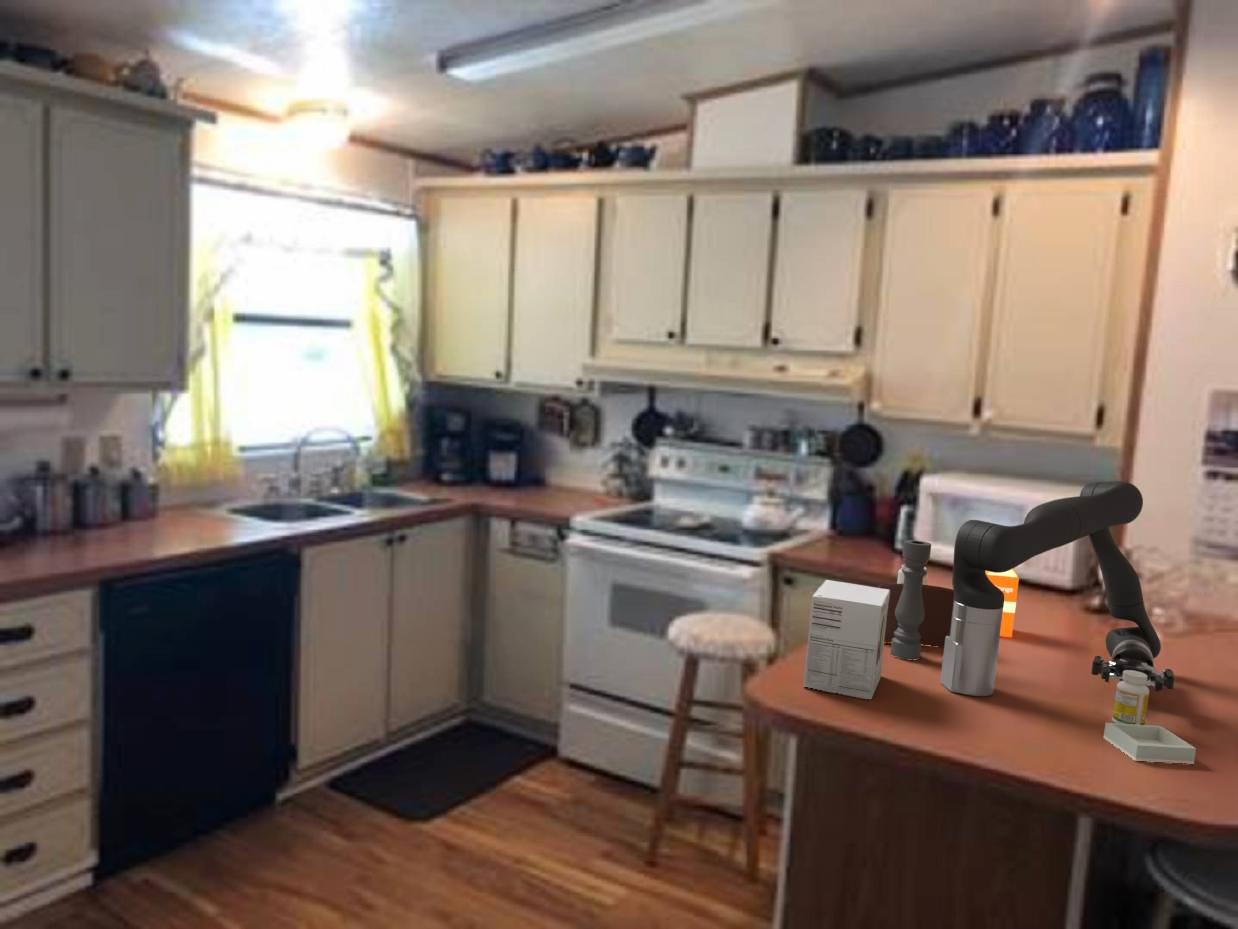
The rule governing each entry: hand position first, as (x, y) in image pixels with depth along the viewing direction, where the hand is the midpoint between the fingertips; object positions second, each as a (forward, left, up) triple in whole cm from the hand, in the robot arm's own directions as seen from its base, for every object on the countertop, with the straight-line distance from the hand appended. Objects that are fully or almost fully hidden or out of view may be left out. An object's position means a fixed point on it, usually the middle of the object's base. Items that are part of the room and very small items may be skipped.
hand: (1132, 681), depth 190 cm
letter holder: (-28, +42, -6) cm, 51 cm away
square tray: (-8, -19, -6) cm, 22 cm away
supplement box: (-53, +9, -6) cm, 54 cm away
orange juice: (-4, +55, -6) cm, 55 cm away
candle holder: (-34, +29, -6) cm, 45 cm away
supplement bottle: (-4, -6, -6) cm, 10 cm away
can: (-19, +69, -6) cm, 71 cm away
